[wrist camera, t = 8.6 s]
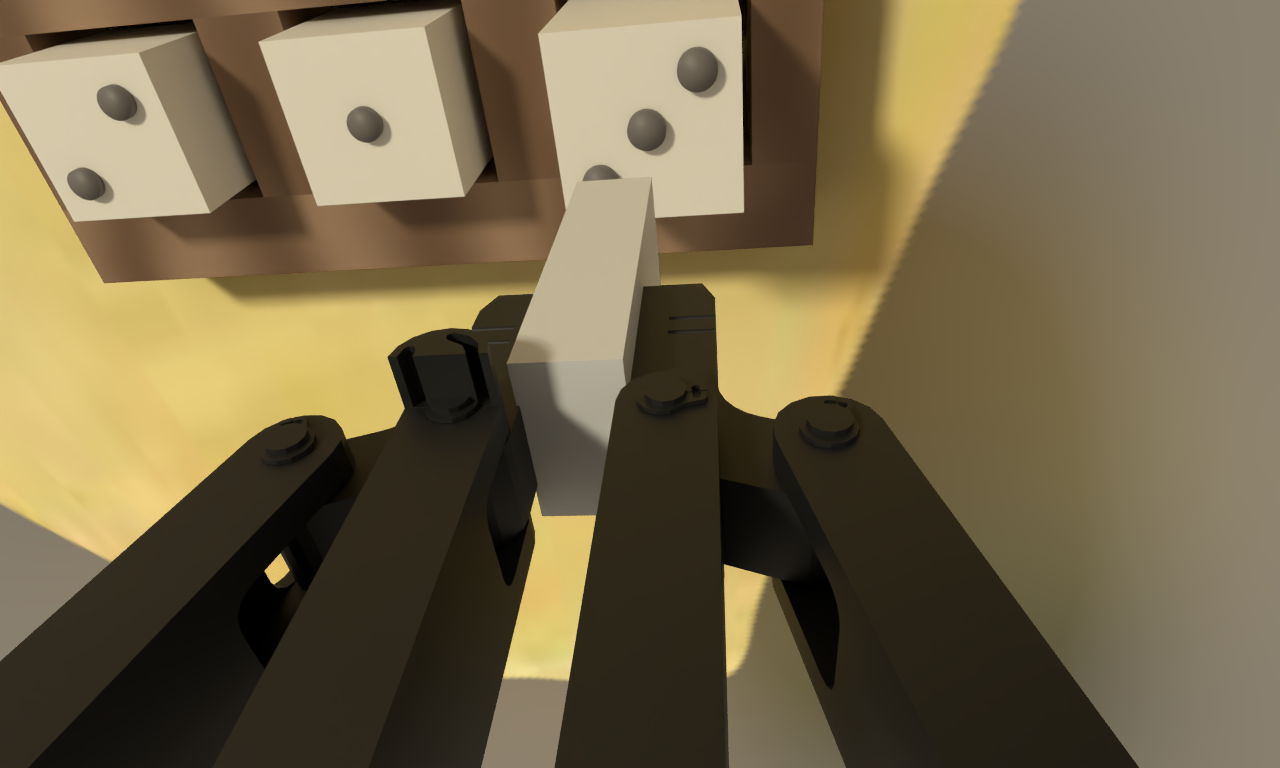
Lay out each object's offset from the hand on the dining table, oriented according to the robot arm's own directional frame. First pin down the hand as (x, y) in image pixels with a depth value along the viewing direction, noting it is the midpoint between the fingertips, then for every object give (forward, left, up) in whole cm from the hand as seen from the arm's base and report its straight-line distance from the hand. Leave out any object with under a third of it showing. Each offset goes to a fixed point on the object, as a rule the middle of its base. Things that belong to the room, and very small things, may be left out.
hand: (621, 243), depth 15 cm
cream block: (+7, -7, -16) cm, 19 cm away
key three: (0, 0, -13) cm, 13 cm away
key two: (+13, -13, -16) cm, 25 cm away
